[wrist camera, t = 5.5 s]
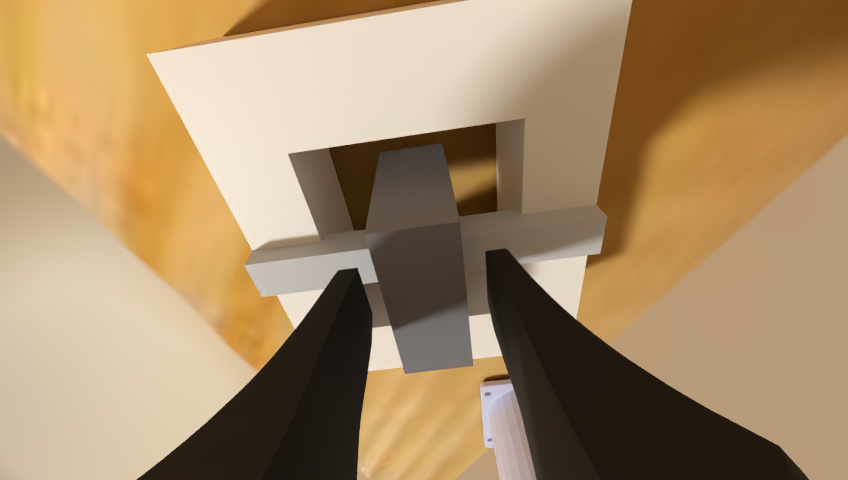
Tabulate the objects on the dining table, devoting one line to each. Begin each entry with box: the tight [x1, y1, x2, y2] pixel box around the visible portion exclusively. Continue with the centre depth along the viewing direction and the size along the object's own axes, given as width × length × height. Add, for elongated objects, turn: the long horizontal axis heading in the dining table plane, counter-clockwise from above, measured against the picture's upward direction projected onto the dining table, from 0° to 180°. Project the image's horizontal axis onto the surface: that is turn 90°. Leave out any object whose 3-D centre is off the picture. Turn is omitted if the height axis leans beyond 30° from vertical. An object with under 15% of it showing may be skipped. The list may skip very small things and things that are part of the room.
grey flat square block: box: [364, 143, 473, 374], centre depth 13 cm, size 6×2×6 cm, turn 8°
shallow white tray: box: [147, 0, 632, 371], centre depth 14 cm, size 14×12×5 cm
